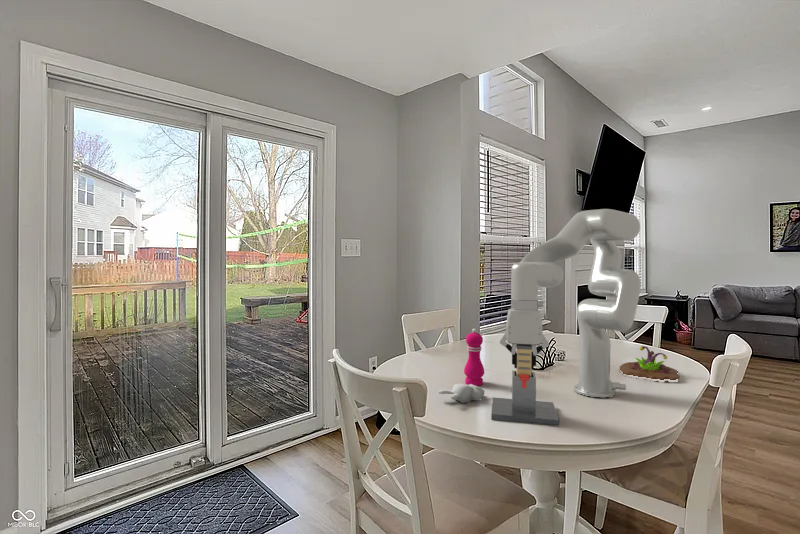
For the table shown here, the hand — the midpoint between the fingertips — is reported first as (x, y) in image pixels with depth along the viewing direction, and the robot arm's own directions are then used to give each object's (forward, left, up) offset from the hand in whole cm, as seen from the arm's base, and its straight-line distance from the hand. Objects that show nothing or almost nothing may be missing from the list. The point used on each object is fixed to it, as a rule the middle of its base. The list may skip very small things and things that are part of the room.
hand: (523, 366), depth 123 cm
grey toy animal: (+18, -7, -14) cm, 24 cm away
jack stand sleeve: (0, 0, -14) cm, 14 cm away
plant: (-49, -53, -14) cm, 73 cm away
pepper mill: (+16, -25, -14) cm, 33 cm away
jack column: (0, 0, -10) cm, 10 cm away
